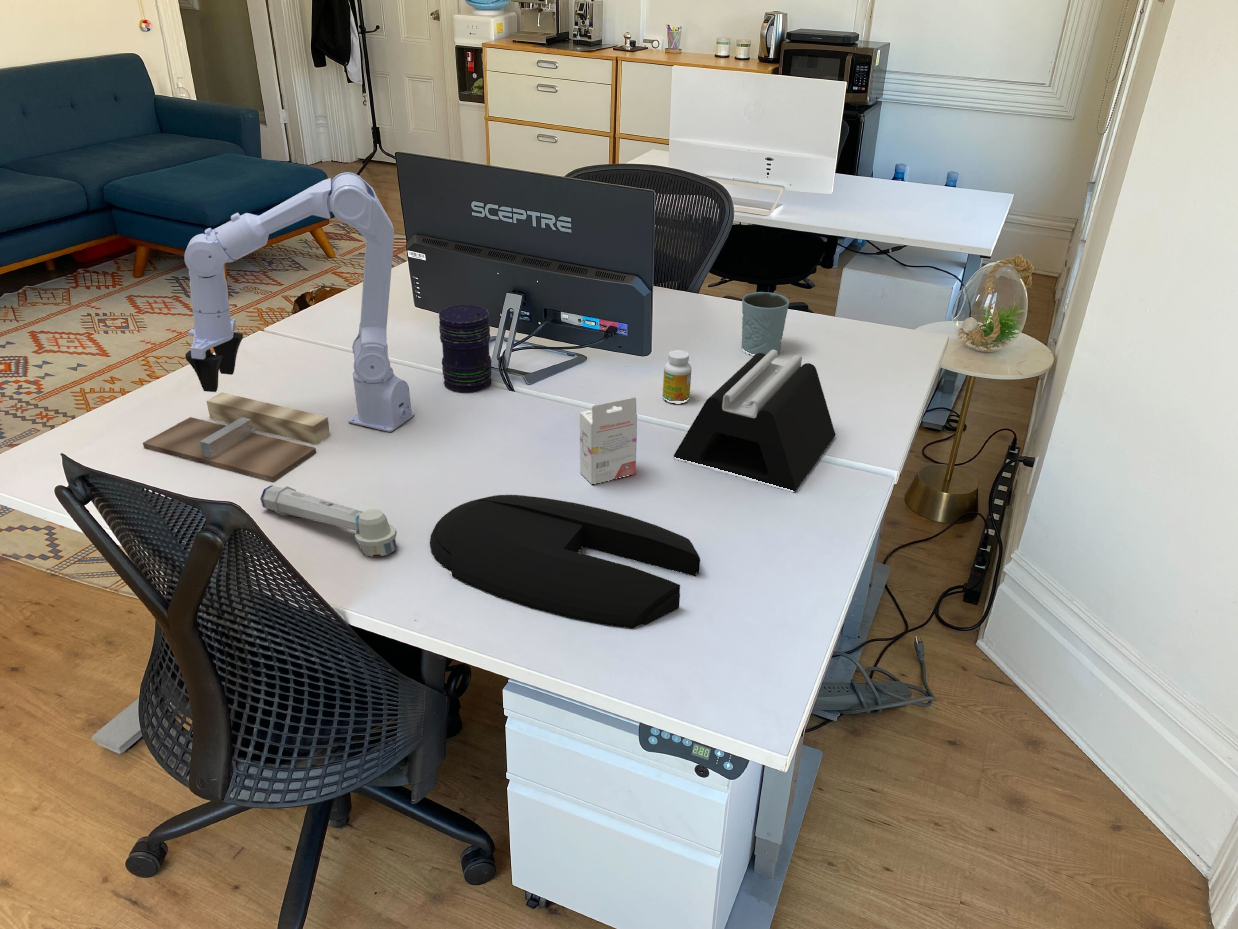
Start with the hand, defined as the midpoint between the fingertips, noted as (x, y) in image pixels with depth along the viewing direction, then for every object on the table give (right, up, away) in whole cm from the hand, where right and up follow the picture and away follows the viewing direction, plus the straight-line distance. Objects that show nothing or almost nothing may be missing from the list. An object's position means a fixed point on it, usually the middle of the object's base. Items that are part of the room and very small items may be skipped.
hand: (218, 382), depth 161 cm
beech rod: (+6, -8, +8) cm, 12 cm away
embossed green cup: (+102, +11, +45) cm, 112 cm away
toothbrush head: (+26, -25, -21) cm, 41 cm away
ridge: (+2, -12, -1) cm, 12 cm away
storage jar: (+39, +2, +26) cm, 47 cm away
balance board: (+2, -12, -1) cm, 12 cm away
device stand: (+95, -12, +6) cm, 96 cm away
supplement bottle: (+81, -2, +22) cm, 84 cm away
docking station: (+61, -29, -25) cm, 72 cm away
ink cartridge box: (+68, -16, -4) cm, 70 cm away
